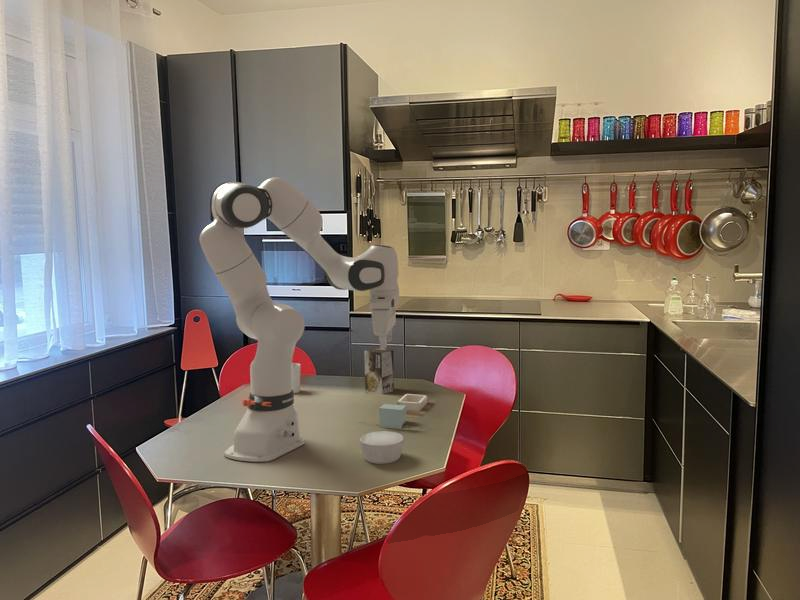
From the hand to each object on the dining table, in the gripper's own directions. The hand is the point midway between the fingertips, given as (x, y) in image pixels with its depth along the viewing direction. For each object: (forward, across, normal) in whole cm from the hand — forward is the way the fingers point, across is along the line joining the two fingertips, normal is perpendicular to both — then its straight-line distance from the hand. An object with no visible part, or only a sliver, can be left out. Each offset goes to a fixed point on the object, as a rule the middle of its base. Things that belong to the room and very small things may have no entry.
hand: (386, 344), depth 179 cm
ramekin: (+24, +29, +3) cm, 38 cm away
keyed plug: (+24, +4, +2) cm, 24 cm away
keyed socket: (+23, -14, +6) cm, 28 cm away
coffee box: (+25, -32, -8) cm, 42 cm away
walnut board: (+24, -12, +6) cm, 28 cm away
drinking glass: (+24, -32, -41) cm, 57 cm away
